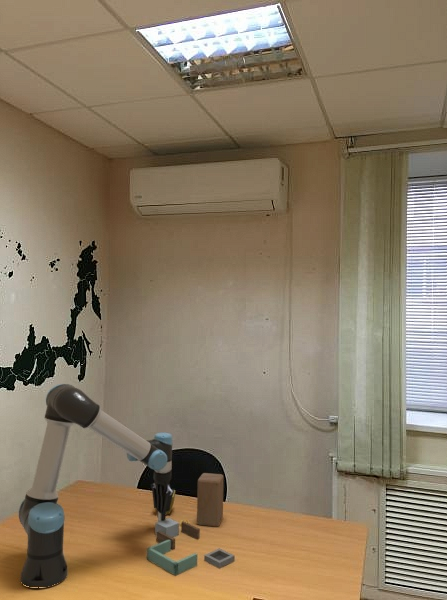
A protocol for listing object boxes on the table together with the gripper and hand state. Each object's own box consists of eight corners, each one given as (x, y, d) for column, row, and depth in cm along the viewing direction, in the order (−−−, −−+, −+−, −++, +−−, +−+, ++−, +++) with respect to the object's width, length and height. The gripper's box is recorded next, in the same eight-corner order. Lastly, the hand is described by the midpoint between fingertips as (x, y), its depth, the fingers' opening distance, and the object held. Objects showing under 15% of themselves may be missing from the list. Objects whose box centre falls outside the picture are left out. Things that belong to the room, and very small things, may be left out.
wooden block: (218, 527, 210) (219, 480, 211) (196, 525, 212) (197, 478, 213) (223, 518, 220) (224, 473, 221) (201, 516, 222) (202, 472, 223)
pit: (219, 568, 175) (219, 562, 176) (204, 560, 181) (204, 555, 181) (234, 560, 181) (234, 555, 181) (219, 553, 187) (219, 548, 187)
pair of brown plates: (172, 550, 189) (172, 539, 189) (156, 541, 196) (156, 531, 196) (199, 538, 199) (199, 528, 199) (183, 531, 206) (183, 521, 206)
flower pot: (172, 516, 221) (173, 496, 221) (153, 516, 221) (154, 496, 222) (175, 509, 230) (175, 489, 230) (156, 508, 230) (157, 489, 230)
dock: (175, 575, 170) (175, 564, 170) (146, 559, 181) (147, 548, 181) (197, 565, 177) (197, 554, 178) (168, 549, 189) (168, 539, 189)
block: (165, 540, 197) (166, 527, 197) (155, 534, 202) (155, 522, 202) (178, 535, 202) (179, 522, 202) (168, 529, 207) (168, 517, 207)
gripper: (179, 472, 204) (178, 529, 203) (159, 465, 213) (158, 519, 212) (165, 476, 199) (164, 534, 198) (146, 468, 208) (144, 524, 207)
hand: (161, 526), depth 205 cm, fingers closed
